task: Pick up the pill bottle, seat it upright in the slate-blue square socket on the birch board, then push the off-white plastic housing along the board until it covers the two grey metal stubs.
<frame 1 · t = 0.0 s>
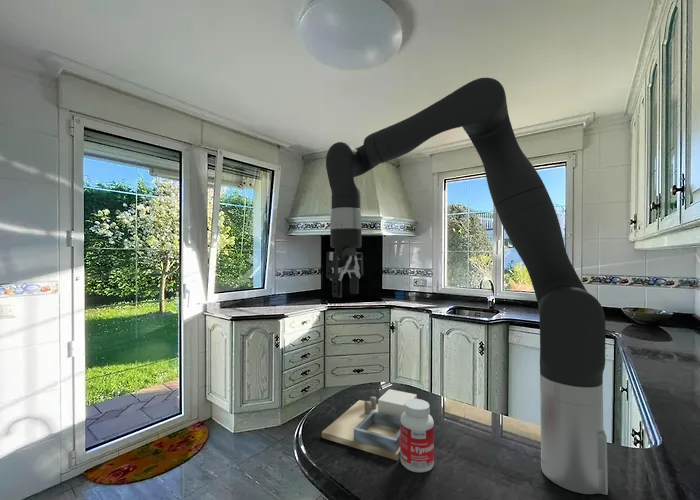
hand: (346, 295, 80), 29 cm above the countertop, fingers open, 8 cm apart
pill bottle: (417, 464, 62), on the countertop
base board: (375, 428, 75), on the countertop
housing: (397, 406, 78), point 3 cm above the countertop, slide at 0.0 cm
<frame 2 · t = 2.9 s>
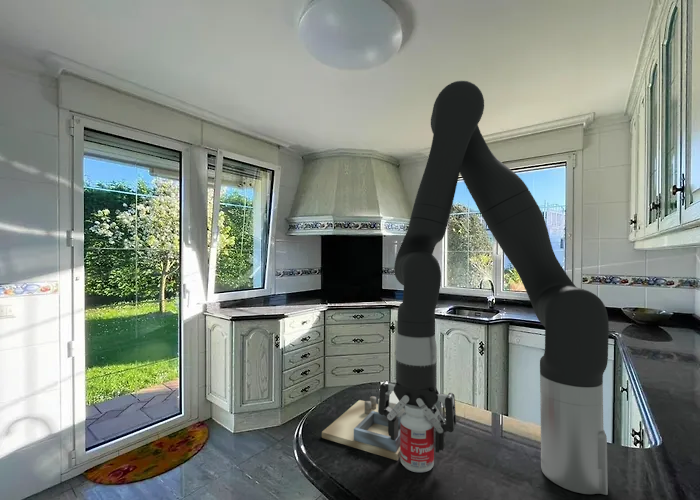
hand: (415, 444, 62), 3 cm above the countertop, fingers open, 8 cm apart
nothing on the countertop moved.
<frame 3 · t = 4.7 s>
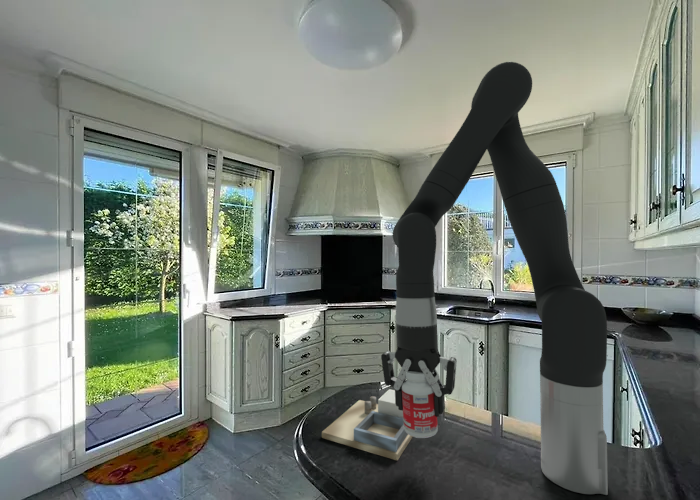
hand: (419, 411, 62), 10 cm above the countertop, fingers closed on pill bottle, 6 cm apart
pill bottle: (421, 431, 61), point 6 cm above the countertop, touching gripper
everything else where it was.
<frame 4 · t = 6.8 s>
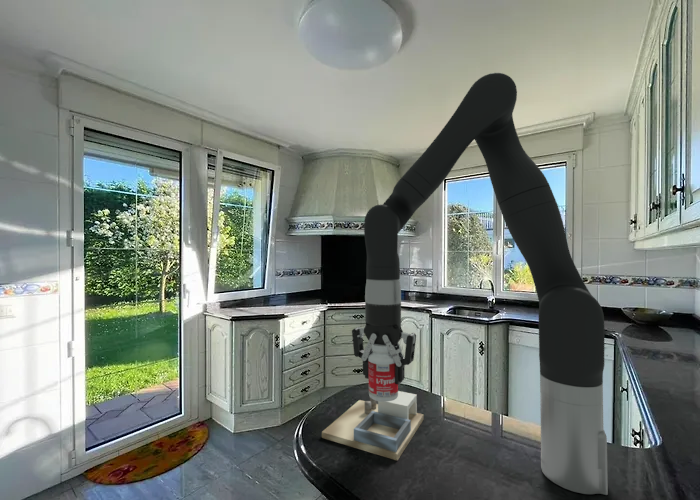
hand: (383, 380, 70), 13 cm above the countertop, fingers closed on pill bottle, 6 cm apart
pill bottle: (383, 397, 70), point 9 cm above the countertop, touching gripper
everything else where it was.
when the fingers open (5 cm above the countertop, at t = 9.1 s): pill bottle stays where it is, resting on base board.
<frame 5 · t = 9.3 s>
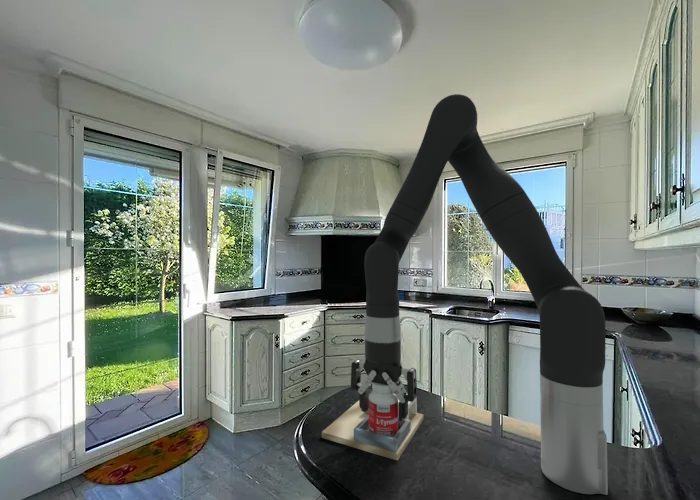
hand: (383, 414, 70), 5 cm above the countertop, fingers open, 8 cm apart
pill bottle: (383, 436, 69), point 1 cm above the countertop, touching base board
everything else where it was.
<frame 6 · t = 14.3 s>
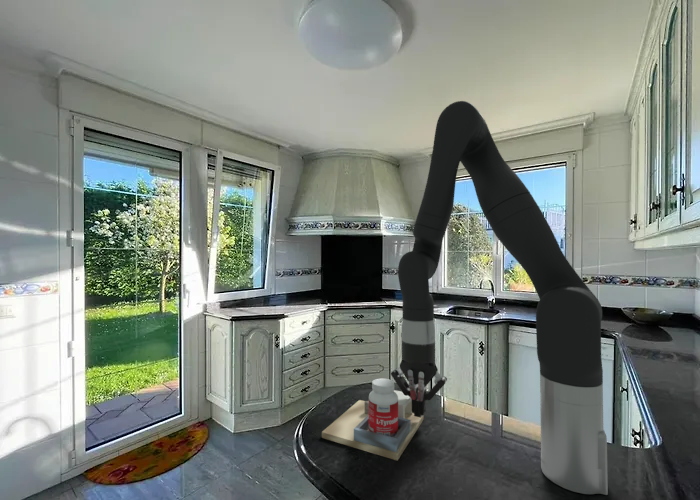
hand: (418, 415, 75), 3 cm above the countertop, fingers closed
housing: (394, 406, 78), point 4 cm above the countertop, slide at 0.9 cm, touching gripper
everything else where it was.
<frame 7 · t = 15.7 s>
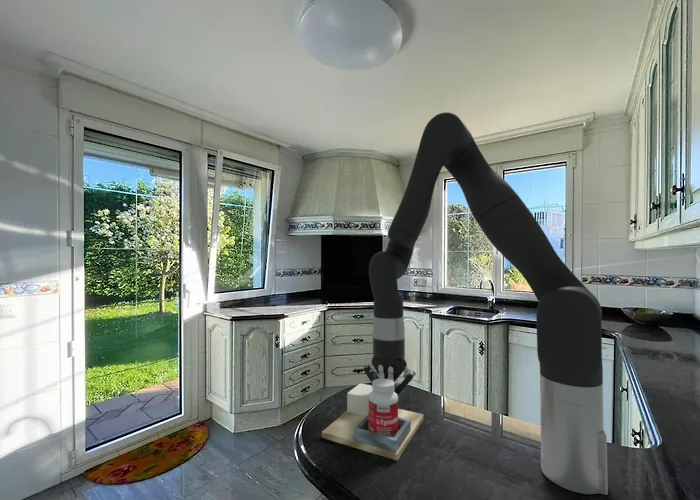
hand: (389, 408, 79), 3 cm above the countertop, fingers closed
housing: (366, 399, 81), point 4 cm above the countertop, slide at 8.0 cm, touching gripper
everything else where it was.
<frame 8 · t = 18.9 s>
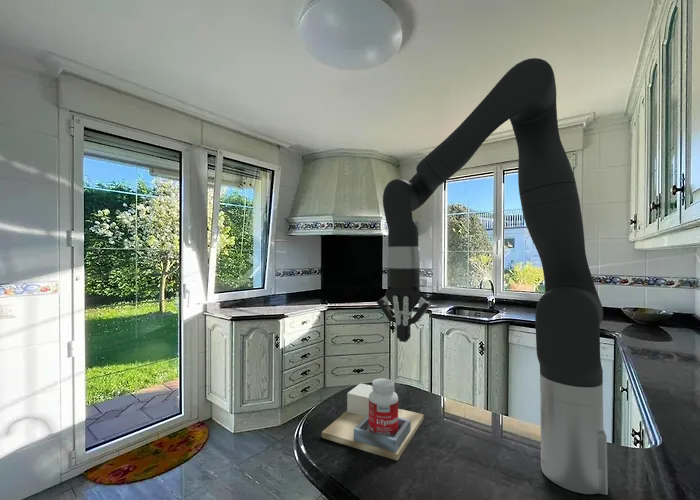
hand: (403, 340, 77), 19 cm above the countertop, fingers closed
housing: (366, 399, 81), point 4 cm above the countertop, slide at 8.0 cm
everything else where it was.
at the end: pill bottle 0.1 cm from the target spot, point 1.0 cm above the countertop; pill bottle tilted 0°; housing slide at 8.0 cm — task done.
